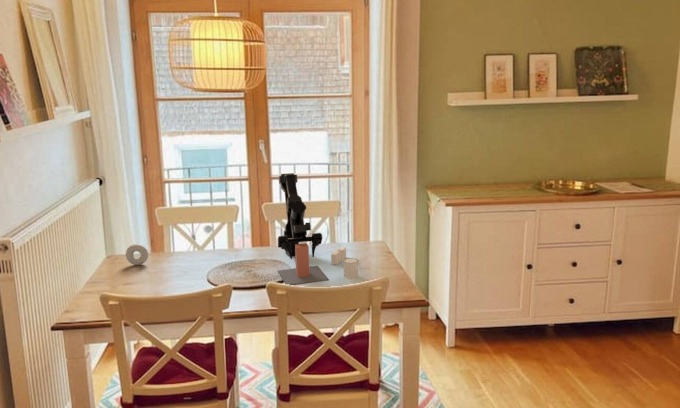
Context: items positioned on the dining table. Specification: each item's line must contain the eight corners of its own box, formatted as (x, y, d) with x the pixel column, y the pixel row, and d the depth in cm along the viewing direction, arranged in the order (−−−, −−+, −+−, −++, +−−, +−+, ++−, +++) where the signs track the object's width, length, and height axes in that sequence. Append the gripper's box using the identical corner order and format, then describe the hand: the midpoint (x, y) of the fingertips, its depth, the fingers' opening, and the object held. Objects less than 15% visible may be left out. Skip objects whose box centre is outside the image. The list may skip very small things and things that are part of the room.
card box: (296, 273, 250) (294, 244, 247) (307, 272, 251) (306, 243, 248) (297, 277, 245) (296, 247, 242) (309, 276, 246) (308, 246, 243)
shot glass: (345, 280, 242) (345, 264, 240) (341, 274, 248) (340, 258, 247) (361, 278, 244) (361, 262, 242) (356, 272, 250) (356, 257, 249)
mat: (277, 271, 254) (277, 270, 254) (317, 266, 259) (317, 265, 259) (286, 285, 237) (286, 284, 237) (329, 280, 242) (328, 279, 242)
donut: (150, 263, 268) (148, 242, 266) (148, 265, 265) (146, 244, 262) (127, 264, 267) (125, 243, 265) (125, 266, 264) (123, 245, 261)
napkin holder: (333, 268, 257) (333, 256, 256) (319, 261, 267) (319, 249, 265) (361, 261, 266) (360, 249, 264) (346, 255, 275) (346, 243, 273)
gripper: (276, 217, 244) (281, 251, 236) (320, 214, 248) (326, 247, 240) (275, 230, 253) (279, 263, 246) (318, 227, 257) (323, 259, 249)
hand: (302, 257), depth 245 cm, fingers open, 9 cm apart
